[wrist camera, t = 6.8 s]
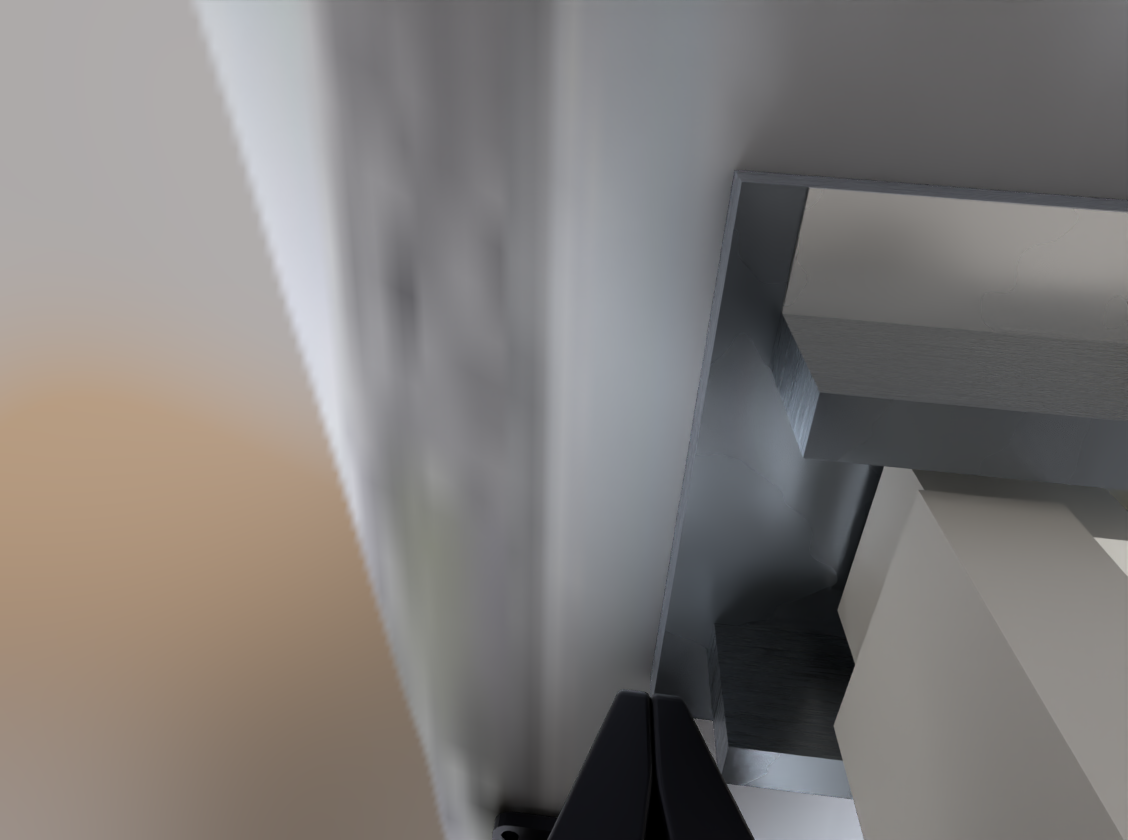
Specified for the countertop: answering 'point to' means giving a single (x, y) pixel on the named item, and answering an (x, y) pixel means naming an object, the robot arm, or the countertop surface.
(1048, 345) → the bench
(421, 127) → the countertop surface
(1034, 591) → the off-white rectangular block
